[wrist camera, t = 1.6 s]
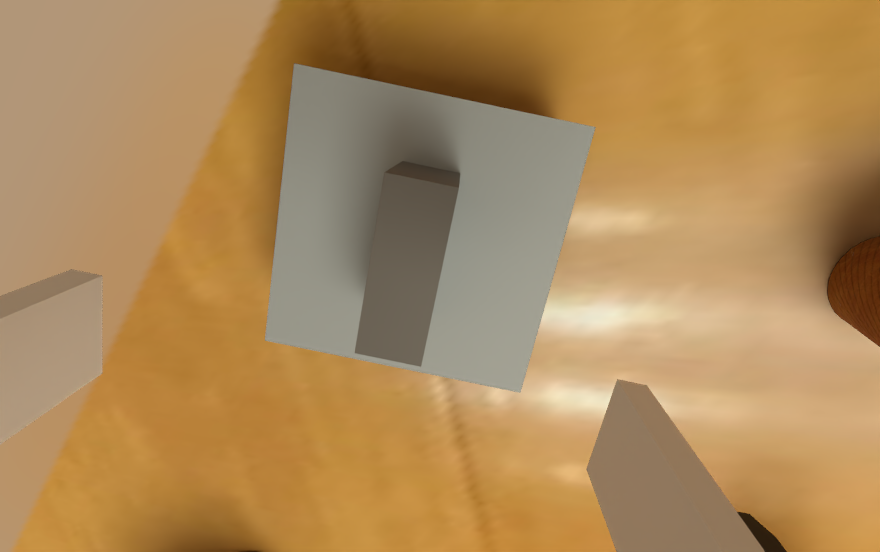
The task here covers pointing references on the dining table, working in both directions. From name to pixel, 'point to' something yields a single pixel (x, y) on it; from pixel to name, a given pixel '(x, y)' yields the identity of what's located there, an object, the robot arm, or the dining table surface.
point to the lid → (419, 227)
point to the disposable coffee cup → (858, 288)
